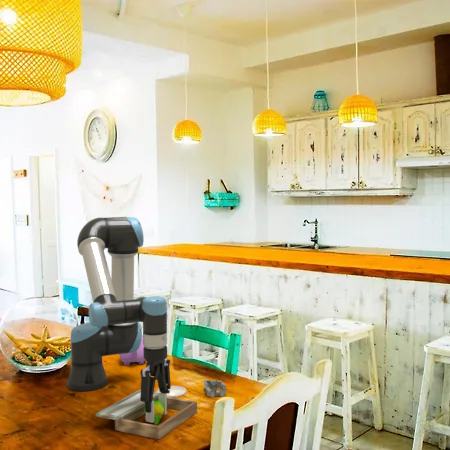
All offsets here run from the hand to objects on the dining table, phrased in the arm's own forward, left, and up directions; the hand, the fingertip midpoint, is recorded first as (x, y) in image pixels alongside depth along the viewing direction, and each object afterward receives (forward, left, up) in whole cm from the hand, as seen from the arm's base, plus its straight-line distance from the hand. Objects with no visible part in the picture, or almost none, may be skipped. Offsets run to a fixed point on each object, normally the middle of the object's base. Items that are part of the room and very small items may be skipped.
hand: (156, 417), depth 174 cm
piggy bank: (-46, +52, -1) cm, 69 cm away
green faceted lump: (0, -1, -1) cm, 1 cm away
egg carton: (+5, +31, -2) cm, 32 cm away
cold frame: (-3, 0, -1) cm, 3 cm away
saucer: (-10, +25, -1) cm, 27 cm away
